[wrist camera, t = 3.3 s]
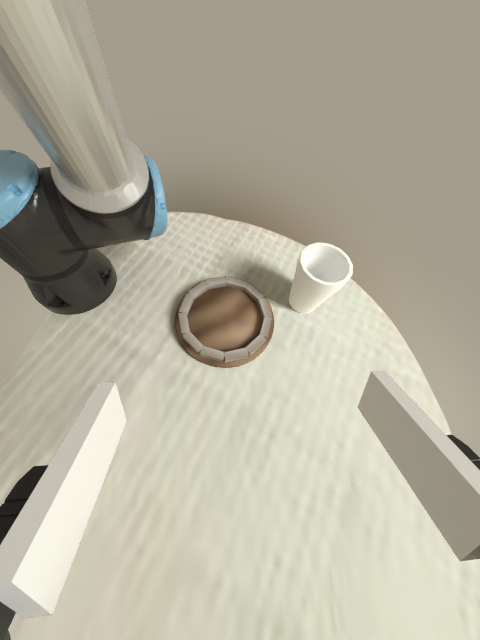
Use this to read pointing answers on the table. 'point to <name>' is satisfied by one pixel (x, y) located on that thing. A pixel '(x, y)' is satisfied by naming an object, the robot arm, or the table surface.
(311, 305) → the foam cup
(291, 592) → the table surface
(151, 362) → the table surface
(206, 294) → the plate
